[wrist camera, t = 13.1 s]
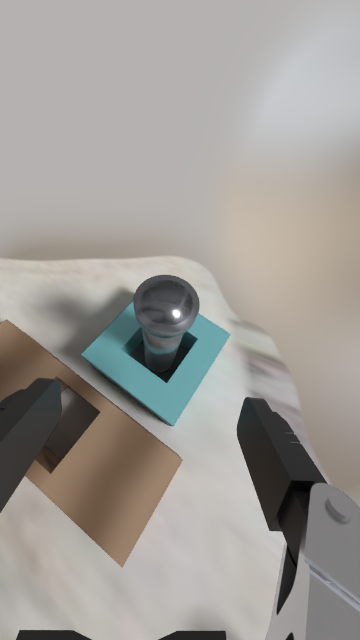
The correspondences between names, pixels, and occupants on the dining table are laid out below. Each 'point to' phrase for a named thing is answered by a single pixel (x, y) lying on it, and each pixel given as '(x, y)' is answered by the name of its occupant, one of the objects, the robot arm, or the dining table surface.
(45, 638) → the robot arm
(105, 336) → the holder
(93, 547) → the dining table surface
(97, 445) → the beam
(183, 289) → the axle
